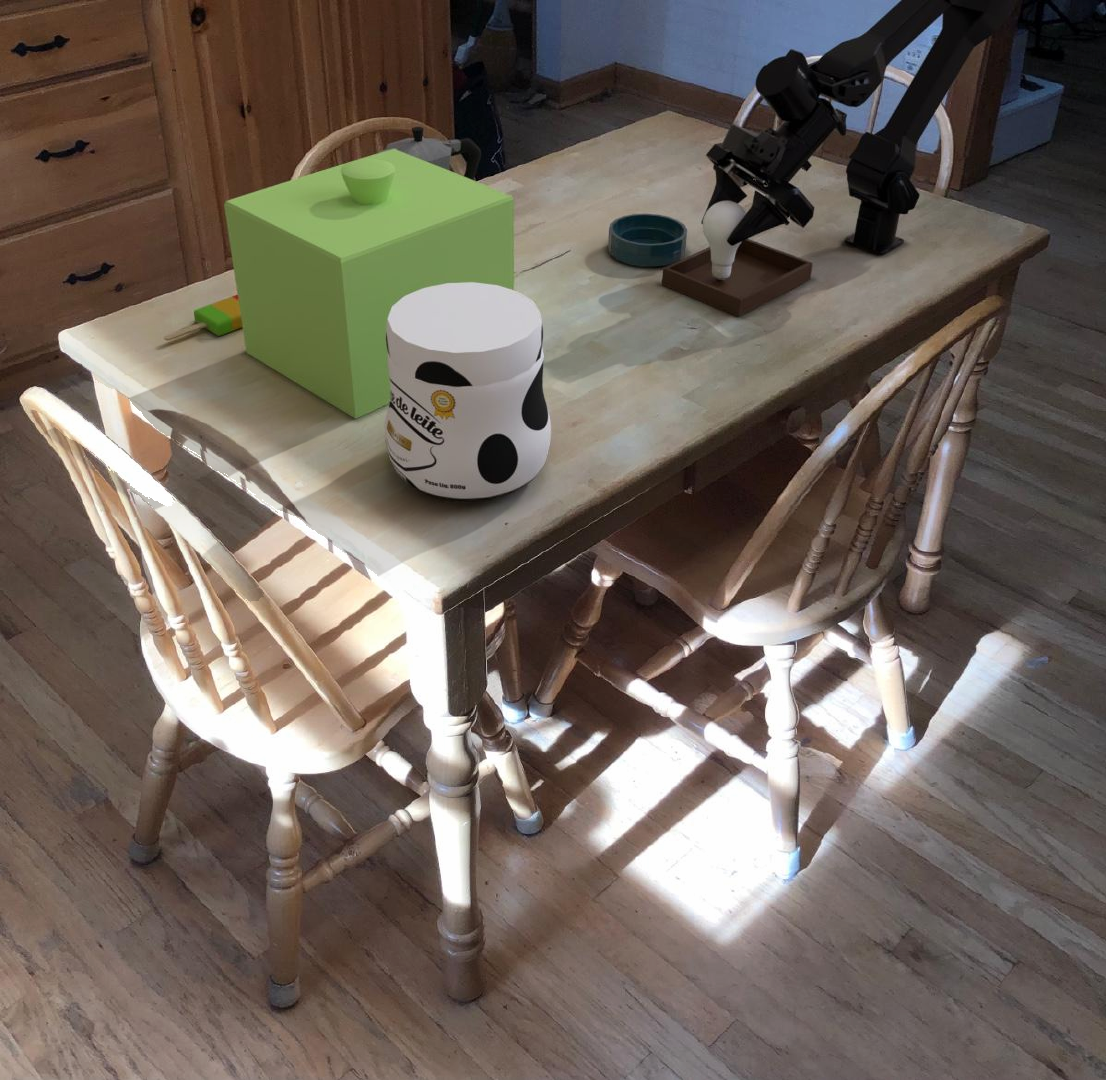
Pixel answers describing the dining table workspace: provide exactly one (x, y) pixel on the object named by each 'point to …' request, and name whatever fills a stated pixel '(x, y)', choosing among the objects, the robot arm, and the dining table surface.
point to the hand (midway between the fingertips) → (716, 234)
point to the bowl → (647, 240)
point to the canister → (357, 264)
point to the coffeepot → (438, 150)
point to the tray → (738, 277)
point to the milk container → (466, 391)
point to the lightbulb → (722, 235)
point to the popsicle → (214, 318)
